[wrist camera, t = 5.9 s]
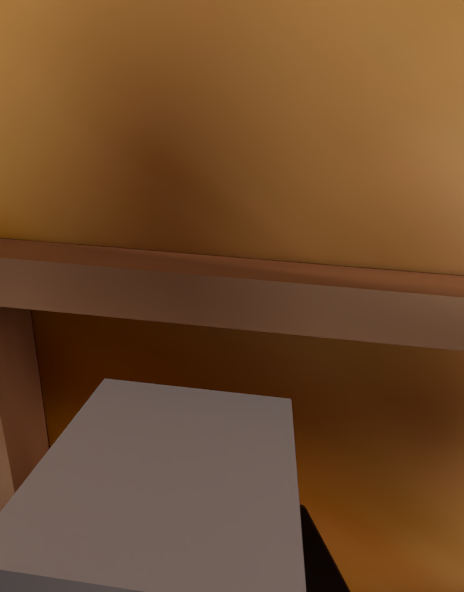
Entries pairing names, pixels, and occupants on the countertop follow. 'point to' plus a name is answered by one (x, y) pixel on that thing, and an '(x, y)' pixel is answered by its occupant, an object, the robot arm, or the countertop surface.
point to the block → (160, 497)
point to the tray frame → (197, 312)
